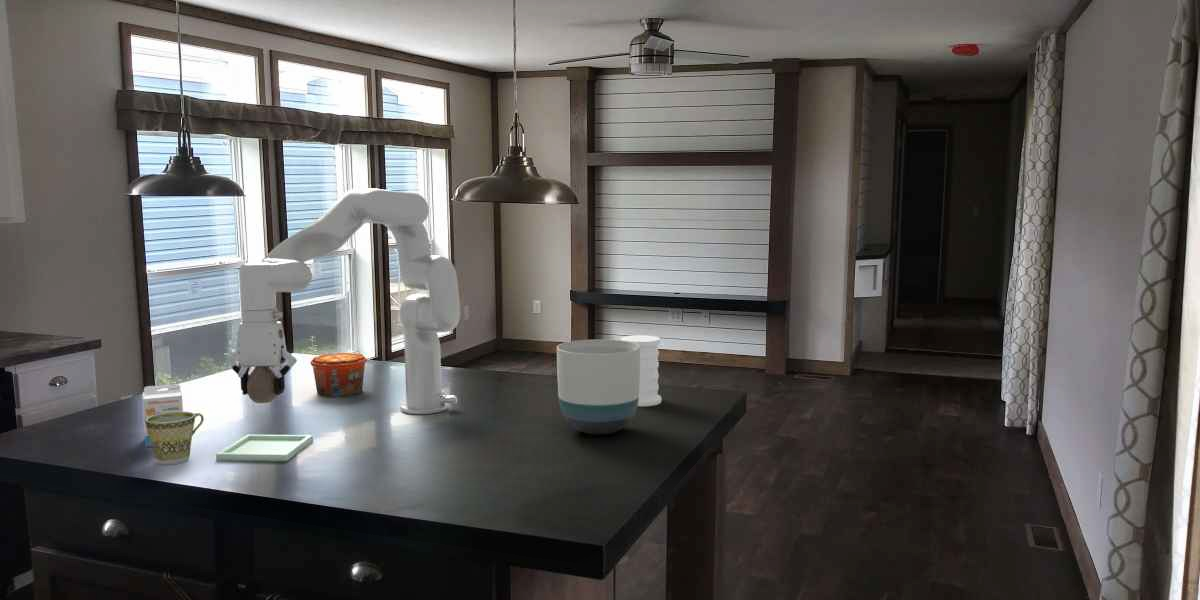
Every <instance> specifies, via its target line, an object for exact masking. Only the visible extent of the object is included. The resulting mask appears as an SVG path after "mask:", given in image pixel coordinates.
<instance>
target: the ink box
mask: <svg viewBox="0 0 1200 600" xmlns="http://www.w3.org/2000/svg"><path fill="white" fill-rule="evenodd" d="M161 388H163V390H160V389H161ZM158 389H159V390H158ZM164 389H165V390H164ZM183 405H184V404H183V394H182V390H181V385H180V384H179V383H176V384H166V385H165V384H163V385H148V386H144V388H143V392H142V414H143V417H142V418H143V430H144V431H143V434H144V443H145V447H146V448H150V447H152V444H151V440H150V437H149V434H148V431H147V427H146V421H145V420H146V418H148V417H150V416H152V415H156V414H161V413H167V412H184V408H183V407H184V406H183Z"/></svg>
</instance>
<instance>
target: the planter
mask: <svg viewBox="0 0 1200 600" xmlns="http://www.w3.org/2000/svg"><path fill="white" fill-rule="evenodd" d="M556 370H557V371H556V373H557V394H558V401H559V402H558V403H559V406H560V410H561V413H562V416H563V417H564V418H565V420H566V421H567V422H568V423H569V424H570V425H571V426H572V427H573V428H574V429H576V430H577V431H579V432H581V433H584V434H588V435H595V436H596V435H600V436H602V435H609V434H614V433H616V432H618V431H620V430H622V429H623V428H624V427H626V426H627V425H628V424H629V423H630V422H631V421H632V419H633V418H634V416H635V414H636V412H637V409H638V406H637V405H638V400H639V385H640V346H639V345H638V344H636V343H632V342H627V341H621V339H620V340H619V339H583V340H582V339H581V340H579V339H578V340H573V341H567V342H564V343H563V342H562V343H559V344H558V345H557V346H556Z"/></svg>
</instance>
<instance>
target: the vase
mask: <svg viewBox="0 0 1200 600" xmlns="http://www.w3.org/2000/svg"><path fill="white" fill-rule="evenodd" d="M249 375H250V376H249V377H248V380H247V393H248V394H247V396H248V398H249V399H250V400H251V401H252V402H254V403H255V404H268V403H271V402H273V401H274V400H275V399H276V398H277V396H278V395H276V394H275V386H274V379H275V378H276V374H275V373H274V371H273V369H272V368H271V367H254V369H253V370H252V371H251V373H250V374H249Z"/></svg>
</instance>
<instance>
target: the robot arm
mask: <svg viewBox="0 0 1200 600" xmlns="http://www.w3.org/2000/svg"><path fill="white" fill-rule="evenodd" d="M429 208H430V207H429V204H428V202H427V200H426V199H425V198H424V197H423V196H422V195H421V194H419V193H416V192H405V191H397V190H396V191H395V190H389V189H380V188H351V189H350V190H348V191H346V192H344V193H343V194H342V195H341V196H340V197H339V198H338V199H337V200H336V201H335V202H334V203H333V204H332V205H331V206H330V207H329V208H328V209H327V210H326V211H325V212H324V213H322V215H321V216H319V218H318V219H316V220H315V221H314V222H313V223H312V224H310V225H308V226H307V227H304V228H303V229H300V231H298V232H296V233H294V234H293V235H290V236H289V237H288V238H286V239H284V240H282V241H281V242H280V243H279V244H277V245H275V247H274V248H273V249H272V250H271V251H270V252H269V253H268V254H266V256H265V257H264V258H262V260H261V261H255V262H254V261H253V262H252V261H250V262H245V263H242V264H241V265H240V266H239V269H238V270H239V273H238V274H239V290H240V291H239V292H240V295H239V296H240V308H241V309H240V311H241V312H240V313H241V322H240V323H239V324H238V329H237V337H236V350H235V351H234V352H233V353H232V354H231V355H230V356H228V358H226V359H225V362H226V363H227V365H229V367H230V368H232V370H233V371H234V372H235V373H236V374H237V377H238V378H240V389H241V391H242V395H243V396H245V395H248V393H247V380H248V377H249V376H250V374H249V373H250V371H251V368H252V367H254V368H255V367H269V368H271V370H272V371H273V372H274V373H275V375H276V378H275V379H274V386H275V394H276V395H277V396H279V395H281V394H283V393H284V391H285V389H286V388H285V387H286V386H285V385H286V384H285V376H286V375H287V374H288V372H289V371H290V370H291V369H292V368H293V366H295V364H296V363H297V361H298V360H297V358H296V357H295V356H293V355H292V354H291V353H290V352H289V351H288V350H287V345H286V337H285V333H284V329H283V325H282V321H279V318H283V317H284V316H283V314H284V313H283V311H278V308H277V293H278V292H279V293H299V292H302V291H303V290H306V289H307V288H308V286H309V285H310V284H311V283H312V279H313V274H312V273H313V272H312V270H311V268H310V267H309V265H308V264H306V262H307V261H309V260H312V259H314V258H317V257H318V258H319V257H320V256H321V257H322V256H324V255H328V254H330V253H333V252H335V251H338V250H340V249H341V248H342V247H343V246H344V245H345V244H346V242H348V241H349V240H350V238H351V237H353V236H354V235H355V234H356V233H357V231H358V230H360V228H361V227H362V226H364V225H365V224H380V225H381V224H382V225H383V226H385V227H386V228H387V229H388V230H389V232H391V234H392V236H393V238H394V241H395V244H396V249H397V256H398V265H399V273H400V278H401V282H402V284H403V286H404V287H406V288H408V289H410V290H416V291H424V292H428V294H427V293H426V294H425V293H414V294H411V295H408V296H407V297H405V298H404V299H403V300H402V302H401V303H400V307H399V319H400V325H401V328H402V332H403V333H402V334H403V343H404V368H405V369H404V370H405V371H404V372H405V374H404V375H405V398H406V399H405V401H406V402H404V403H402V404H401V405H400V411H401V412H403V413H405V414H411V415H412V414H413V415H429V414H436V413H440V412H443V411H446V410H447V409H448V404H450V405H451V404H456V405H457V403H458V396H455V395H453V394H452V395H450V394H449V395H447V394H445V390H442V362H441V361H442V360H441V357H442V356H441V342H440V339H439V335H438V333H448V332H452V331H454V330H455V328H456V327H458V324H459V322H460V317H461V305H460V304H461V303H460V302H461V301H460V293H459V285H458V276H457V271H456V269H455V267H454V264H453V263H452V261H451V260H449V259H448V258H447V257H445V256H441V255H433V254H432V251H431V244H430V240H429V235H428V232H427V229H426V227H425V225H424V223H425V221H426V220H427V218H428V216H429V212H430V211H429V210H430V209H429ZM283 363H286V364H285V365H284V366H283Z"/></svg>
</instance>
